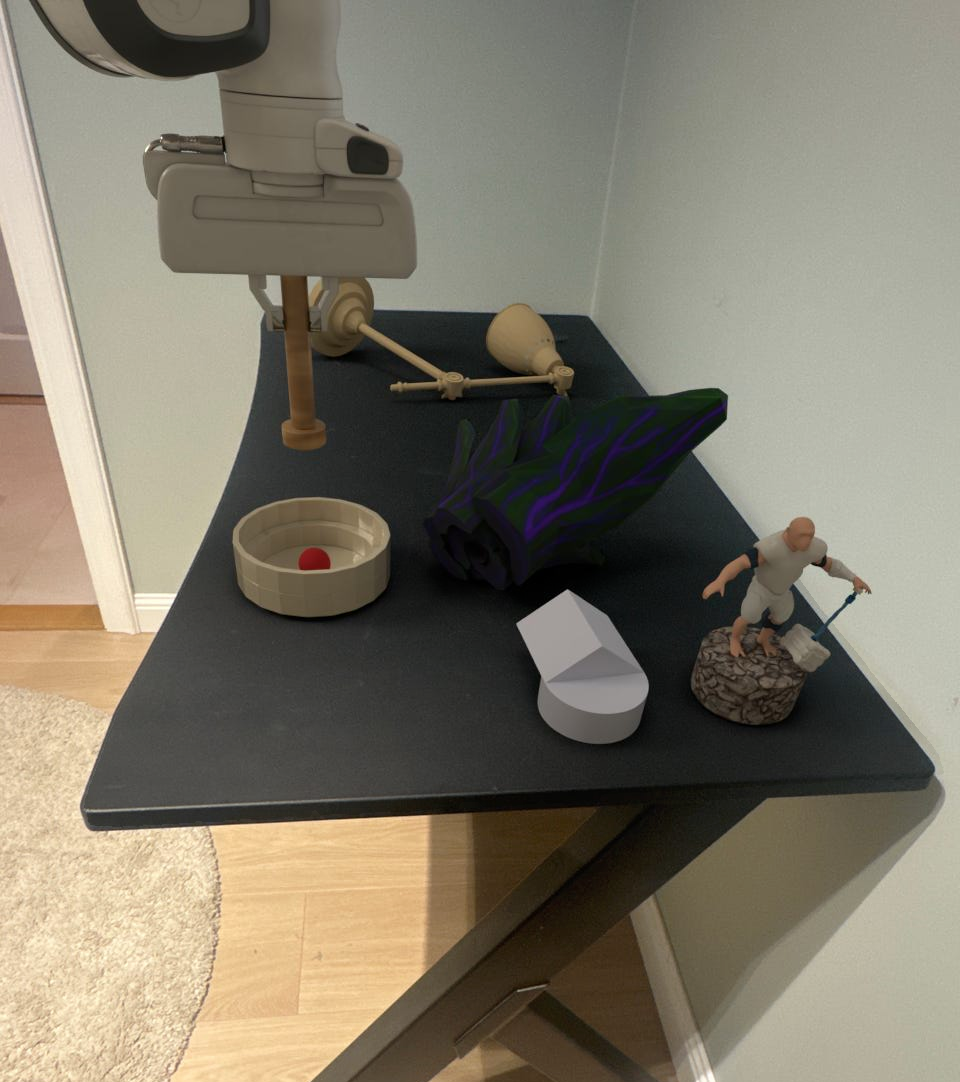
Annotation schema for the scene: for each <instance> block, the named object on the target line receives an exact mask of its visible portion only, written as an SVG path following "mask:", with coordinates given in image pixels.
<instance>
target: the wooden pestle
mask: <svg viewBox="0 0 960 1082" xmlns="http://www.w3.org/2000/svg"><path fill="white" fill-rule="evenodd" d="M279 279H280V280H279V281H280V292H281V306H282V308H283V316H284V320H283V321H284V329H285V332H284V347H285V357H286V372H287V373H286V374H287V384H288V397H289V399H288V400H289V410H290V418H289V419H287V420H285V421H283V422H282V423H281V437H282V443H283V445H284V446H286V447H287V448H290V449H292V450H297V451H312V450H316V449H320V448H322V447H324V446H325V445H326V444H327V426H326V424H325V422H324V421H323V420H320V419H318V418H316V407H315V389H314V387H315V386H314V371H313V369H314V368H313V353H312V347H311V333H310V319H309V298H308V296H309V283H308V280H309V279H308V276H279Z"/></svg>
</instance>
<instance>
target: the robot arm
mask: <svg viewBox="0 0 960 1082" xmlns="http://www.w3.org/2000/svg"><path fill="white" fill-rule="evenodd" d="M28 1H29V3H30V5H31V7H32V8H33V10H34V12H35V13H36V15H37V17H38V18H39V20H40V21H41V23H42V25H43V26H44V27H45V29H46V30H47V32H48V33H49V34H50V36H51V37H52V38H53V39H54V41H56V43H57V44H58V45H59V47H61V48H62V49H63V50H64V51H65V52H66V53H67V54H68V55H69V56H70V57H72V58H73V59H74V60H76V61H77V62H78V63H79V64H81V65H83V66H85V67H87V68H88V69H90V70H92V71H94V72H97V73H99V74H101V75H105V76H109V77H114V78H135V77H136V78H140V79H145V80H155V81H160V82H179V81H186V80H189V79H192V78H195V77H197V76H200V75H204V74H211V73H215V75H216V78H217V82H218V83H217V84H218V92H219V93H218V94H219V102H220V112H221V121H222V130H223V135H222V136H219V135H203V134H202V135H180V134H179V133H171V132H170V133H162V134H160V137H159V139H155V140H153V141H151V142H149V144H148V145H146V147H145V149H144V151H143V155H142V166H143V171H144V172H143V173H144V178H145V183H146V184H145V185H146V186H147V189H148V191H149V193H150V194H151V196H153V198H154V199H155V200H156V204H157V205H156V206H157V207H156V213H157V214H156V218H157V236H158V247H159V254H160V259H161V261H162V262H163V264H165V266H166V267H167V268H168V269H169V270H170V271H171V272H172V273H175V274H198V275H199V274H202V275H204V274H205V275H240V276H241V275H242V276H247V278H248V288H249V291H250V292H251V294H252V295H253V297H254V299H255V300H256V302H257V303H258V304H259V306H260V307H261V309H262V310H263V311H264V313H265V323H266V332H267V333H268V332H269V333H270V332H271V333H275V332H276V333H277V332H278V333H279V332H285V329H284V321H283V320H284V316H283V308H282V305H279V304H278V305H276V304H275V305H274V304H273V303H272V300H271V299H270V297H269V296H268V295H267V293H266V291H265V290H267V289H268V288H267V287H268V284H267V282H268V280H267V276H274V277H275V276H279V277H280V276H307V277H312V278H313V277H317V278H318V277H319V278H320V279H321V286H322V289H323V290H324V291H325V292H324V294H323V296H322V298H321V300H320V302H319V304H318V306H309V319H310V332H327V312H328V311H329V309H330V307H331V305H332V304H333V302H334V300H335V298H336V296H337V294H338V292H339V277H351V278H365V279H391V280H392V279H393V280H407V279H409V278H410V276H412V274H413V273H414V272H415V270H416V269H417V267H418V238H417V225H416V218H415V217H416V216H415V209H414V204H413V200H412V197H411V195H410V193H409V191H408V190H407V188H406V186H405V185H404V184H403V183H402V182H401V180H399V179H398V178H399V177H400V176H401V175H402V173H403V170H404V153H403V151H402V148H401V147H400V146H399V145H398V144H397V142H395V141H394V140H392V139H390V138H388V137H386V136H384V135H381V134H379V133H377V132H374V131H372V130H370V129H369V127H368V126H366V125H364V124H361V123H359V122H356V123H354V122H352V121H349V120H346V116H345V115H344V93H343V86H342V83H341V80H340V76H339V71H338V64H337V48H338V47H337V45H338V40H339V35H340V30H341V25H342V24H341V23H342V21H341V20H342V19H341V17H342V16H341V0H28ZM158 147H161V149H162V150H160V149H156V148H158Z"/></svg>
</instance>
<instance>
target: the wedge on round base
mask: <svg viewBox="0 0 960 1082" xmlns="http://www.w3.org/2000/svg"><path fill="white" fill-rule="evenodd" d="M516 627H517V628H518V631H519V632H520V635H521V637H522V639H523V641H524V643H525V645H526V647H527V649H528V651H529V654H530V656H531V658H532V659H533V662H534V664H535V666H536V668H537V670H538V672H539V674H540V676H541V677H540V682H539V689H538V694H537V709H538V712H539V715H540V716H541V718H542V719H543V721H544V722H545V723H546V724H547V725H548V726H549V727H550V728H552V730H554V731H555V732H557V733H559V734H560V735H562V736H563V737H566V738H568V739H571V740H574V741H577V742H582V743H584V744H585V743H586V744H592V745H593V744H594V745H605V744H613V743H616V742H617V743H618V742H620V741H622V740H625V739H626V738H628V737H631V735H633V734H634V733H635V732H636V730H638V727H639V725H640V723H641V720H642V714H643V712H644V707H645V706H646V701H647V697H648V693H649V687H650V685H649V679H648V677H647V675H646V673H645V671H644V669H643V668H642V667H641V664H640V663H639V662H638V660H637V659H636V657H635V656H634V654H633V652H632V651H631V650H630V648H629V647H628V646H627V644H626V641H624V639H623V637H622V636H621V634H620V633H619V631H618V630H617V628H616V627H615V625H614V623H613V622H612V621H611V619H610V617H609V616H608V614H606V613H604V612H602V611H601V610H599V609H598V608H597V607H595V606H593V605H592V604H591V603H589V602H588V601H586V600H584V598H583V597H580V596H579V595H578V594H576V593H575V592H572V591H571V590H569V589H566V590H564V591H563V592H560V594H558V595H557V596H555V597H554V598H552V599H551V600H549V601H548V602H546V603H545V604H543V605H542V606H540V607H539V608H537V609H536V610H535V611H533V612H531V613H530V614H528V615H527V616H526V617H524V618H522V619H521V620H519V621H518V622H516Z"/></svg>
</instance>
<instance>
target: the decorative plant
mask: <svg viewBox="0 0 960 1082" xmlns="http://www.w3.org/2000/svg"><path fill="white" fill-rule="evenodd" d="M728 402H729V394H727V393H726V392H725V391H723V390H722V389H720V388H719V387H704V388H693V389H686V390H682V391H679V392H673V393H669V394H663V395H662V394H661V395H660V394H659V395H656V394H655V395H621V396H620V395H619V396H615V397H614V398H611V399H610V400H607V401H605V402H604V403H602V404H599V405H598V406H595V407H593V408H592V409H589V410H587V411H585V412H583V413H581V414H579V415H577V416H576V417H575V418H574V419H573V420H571V400H570V397H569V395H567V396H564V395H559V394H552V395H551V397H550V398H549V399H548V401H547V402H546V404H545V405H544V406H543V408H542V409H541V411H540V412H539V414H537V416H536V417H535V418H534V419H533V420H532V421H531V422H530V423H529V424H527V425H525V426H524V427H523V426H522V424H523V423H522V421H523V420H522V419H523V418H522V413H521V409H520V405H519V398H512V399H504V400H502V401H501V404H500V407H499V410H498V412H497V413H498V414H497V415H496V417H495V419H494V420H493V421H492V424H491V426H490V428H489V430H488V431H487V433H486V435H485V436H484V437H483V439H482V440H481V441H480V443H479V444H478V446H477V447H476V449H475V445H474V441H475V437H476V432H475V429H474V425H473V424H472V423H471V422H470V421H471V419H470V418H465V419H462V420H459V423H458V425H457V430H456V431H457V432H456V442H455V446H454V447H455V448H454V454H453V459H452V462H451V466H450V469H449V473H448V476H447V480H446V483H445V487H444V489H442V492H441V493H440V495H439V498H438V499H437V501H436V502H435V504H434V505H433V506H432V507H431V509H430V511H428V513H427V514H426V516H425V517H424V519H423V522H422V525H423V528H424V529H425V531H426V534H427V535H428V538H429V540H428V547H429V550H430V552H431V554H432V556H433V557H434V558H435V559H436V560H437V561H438V562H439V563H440V564H441V565H442V566H443V567H444V568H445V569H446V570H447V571H448V572H449V573H450V574H451V575H452V576H453V577H454V578H456V579H461V580H463V581H468V580H470V579H471V578H472V579H473V580H485V581H486V582H488V583H489V584H490V585H491V586H493V587H494V588H495V589H496V590H498V591H505V590H506V589H507V588H508V587H510V586H511V585H512V584H513V583H515V584H516V586H521V585H522V584H523V583H525V582H526V581H527V580H528V579H529V578H530V577H532V576H533V575H534V574H535V573H536V572H538V571H540V570H544V569H547V568H552V567H554V566H557V565H565V564H592V565H598V566H603V565H604V560H605V557H606V556H605V553H604V550H603V549H601V550H598V549H597V548H596V547H595V546H593V545H592V544H591V543H589V541H591V540H593V539H595V538H597V537H599V536H601V535H603V534H606V533H608V532H609V531H611V530H614V529H615V528H618V527H619V526H620V525H622V524H623V523H625V521H626V520H628V519H629V518H630V517H632V515H634V514H635V513H636V512H637V511H638V510H639V509H641V508H642V507H644V506H645V505H646V504H647V503H649V502H650V501H651V500H652V499H653V497H654V496H655V495H656V494H657V492H659V491H660V489H661V488H662V487H663V486H664V484H666V482H667V481H668V480H669V479H670V477H671V476H672V475H673V474H674V472H675V471H676V470H677V469H678V467H680V465H681V464H682V463H683V462H684V460H686V458H687V457H688V456H689V454H690V453H691V452H693V451H694V450H695V449H696V448H697V447H699V445H701V444H702V443H703V442H704V441H705V440H707V438H709V437H710V436H711V435H712V434H714V432H715V431H717V430H718V429H719V428H720V427H722V425H723V424H725V422H726V421H727V420H728V407H729V406H728V405H729V403H728Z"/></svg>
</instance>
